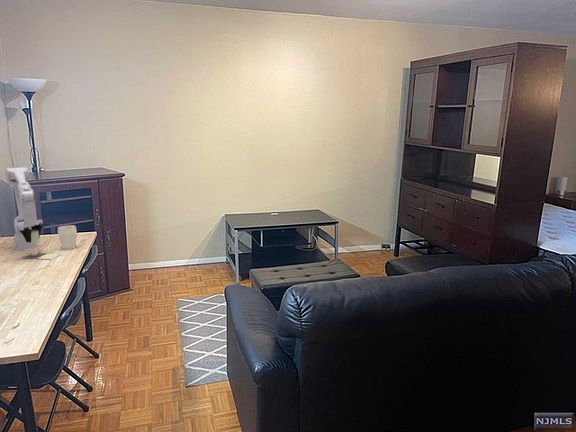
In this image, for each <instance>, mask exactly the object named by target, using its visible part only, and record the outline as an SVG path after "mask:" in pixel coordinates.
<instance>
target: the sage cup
mask: <svg viewBox="0 0 576 432" xmlns="http://www.w3.org/2000/svg"><path fill="white" fill-rule="evenodd" d="M39 243H40V238H39V233H38V230H32V233H31V242H30V243H29V242H27V244H36V245H37V244H39Z"/></svg>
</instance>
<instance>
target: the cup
mask: <svg viewBox="0 0 576 432" xmlns="http://www.w3.org/2000/svg"><path fill="white" fill-rule="evenodd" d="M77 233H78V231H77V226H76V225H74V224H73V225H72V224H69V225H63V226H62V225H61V226H59V227H57V235H58V239H59V242H60V245H61V249H62V250H72V249H76V246H77Z"/></svg>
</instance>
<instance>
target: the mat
mask: <svg viewBox="0 0 576 432" xmlns="http://www.w3.org/2000/svg"><path fill="white" fill-rule="evenodd" d="M61 256H63V254H62V253H61V254H60V253H43V252H38V254H37V255H36V256H32V255H31V253H30V254H27V255H25V256H23V257H22V259H29V260H45V261H52V260H53V259H55V258H59V257H61Z"/></svg>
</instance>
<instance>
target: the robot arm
mask: <svg viewBox="0 0 576 432" xmlns="http://www.w3.org/2000/svg"><path fill="white" fill-rule="evenodd" d="M5 175H6V181H7V184H8V186H12V188H13V191H14V197H15V202H16V207H17V212H18V213H17V214H18V216H16V217H15V218H14V220H13V226H14V231H15V234H14V236H13V243H14V250H16V251H17V250H18V251H33V250H35V249H36V248H39V247H40V245H37V244H27V242H29V243H30V242H31V233H32V230H38V233H39V239H40V236H41V232H42V229H43V228H44V225H43V224H44V223H43V219H38V217H37V208H36V201H37V196H36V192H35V190H34V189H32V187H31V184H30V183H29V177H30V173H29V169H28V167H27V166H21V167H7V168H6V169H5Z"/></svg>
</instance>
